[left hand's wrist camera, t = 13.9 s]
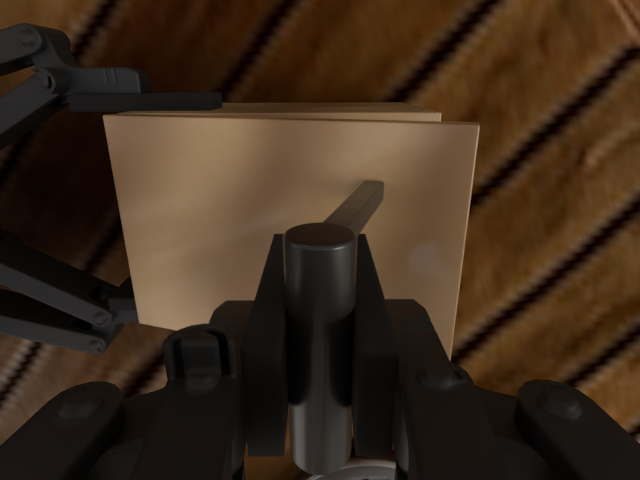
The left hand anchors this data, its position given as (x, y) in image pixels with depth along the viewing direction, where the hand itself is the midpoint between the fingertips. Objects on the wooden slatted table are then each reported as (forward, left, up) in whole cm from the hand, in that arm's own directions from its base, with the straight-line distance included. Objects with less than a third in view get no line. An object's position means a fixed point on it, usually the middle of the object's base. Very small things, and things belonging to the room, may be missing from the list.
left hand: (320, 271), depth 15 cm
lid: (-1, +1, -3) cm, 4 cm away
